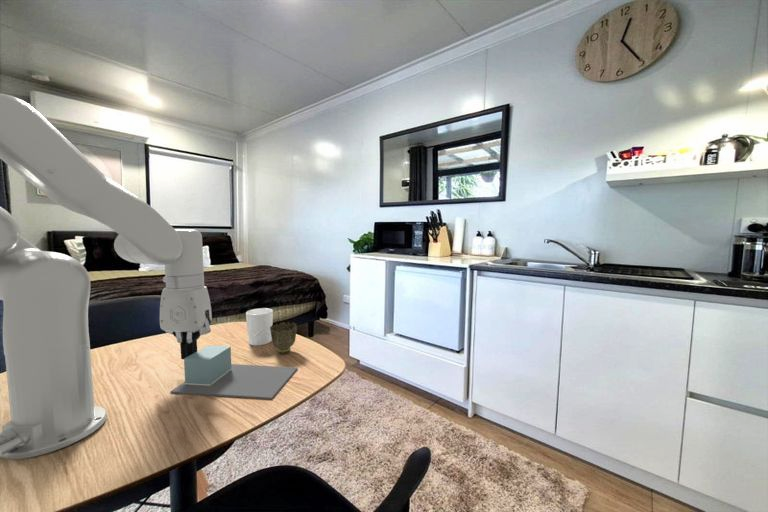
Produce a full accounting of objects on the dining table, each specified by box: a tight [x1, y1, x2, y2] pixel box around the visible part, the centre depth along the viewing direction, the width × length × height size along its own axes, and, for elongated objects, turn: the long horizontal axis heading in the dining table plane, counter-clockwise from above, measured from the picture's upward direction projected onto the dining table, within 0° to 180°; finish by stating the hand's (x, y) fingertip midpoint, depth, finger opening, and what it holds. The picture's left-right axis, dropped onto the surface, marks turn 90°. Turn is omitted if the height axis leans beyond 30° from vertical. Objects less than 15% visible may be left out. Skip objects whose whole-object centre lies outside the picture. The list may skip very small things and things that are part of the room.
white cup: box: [245, 307, 274, 347], centre depth 95 cm, size 8×8×10 cm
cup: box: [270, 321, 298, 355], centre depth 87 cm, size 8×7×8 cm
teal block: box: [183, 345, 232, 386], centre depth 71 cm, size 8×6×6 cm
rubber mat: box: [170, 363, 298, 400], centre depth 70 cm, size 14×23×1 cm, turn 85°
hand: (189, 356), depth 71 cm, fingers closed
